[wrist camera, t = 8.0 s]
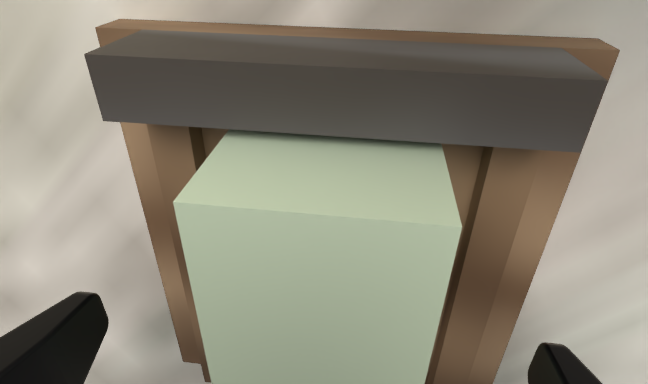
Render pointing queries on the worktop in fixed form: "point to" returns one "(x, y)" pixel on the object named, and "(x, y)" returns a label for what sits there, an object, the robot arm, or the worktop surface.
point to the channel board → (372, 123)
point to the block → (319, 257)
